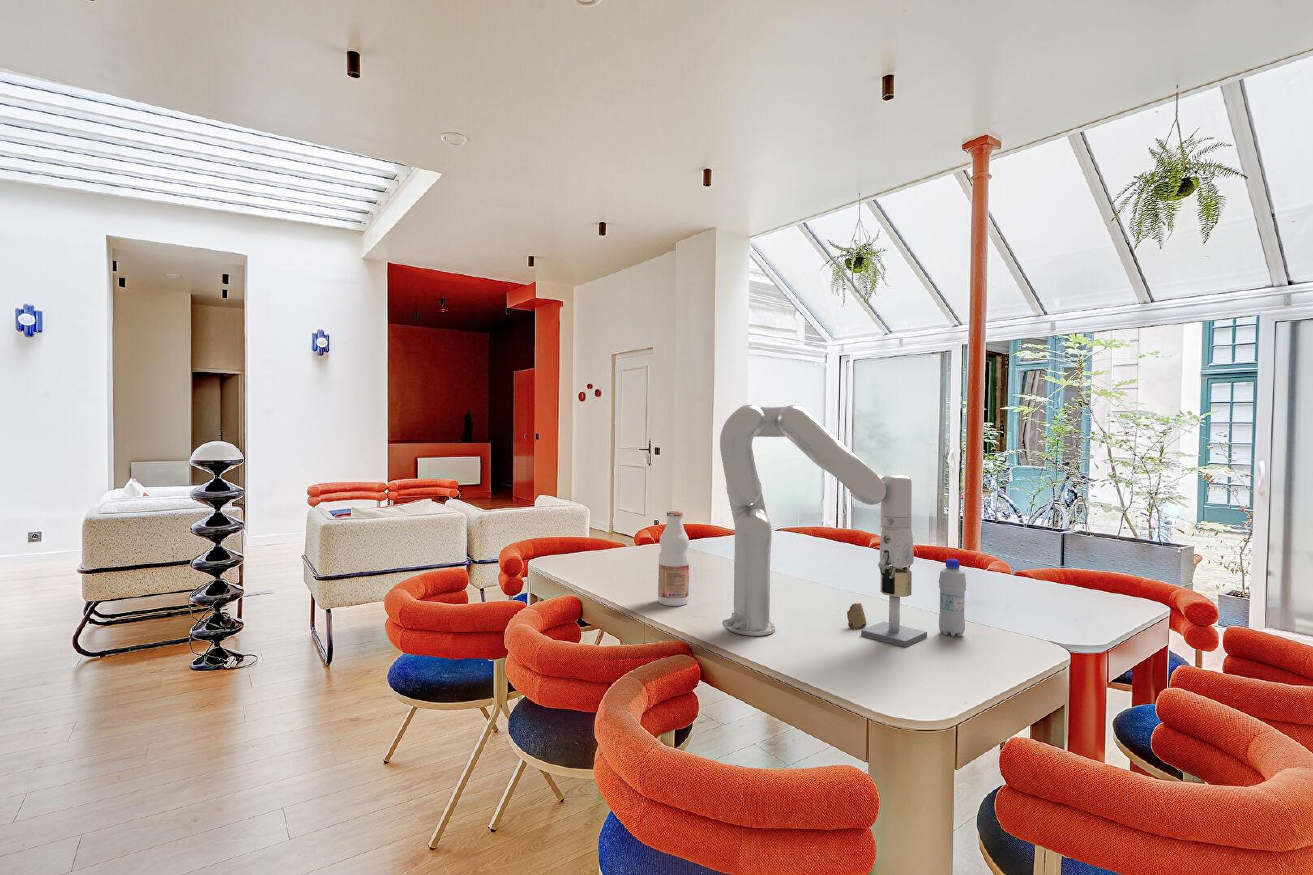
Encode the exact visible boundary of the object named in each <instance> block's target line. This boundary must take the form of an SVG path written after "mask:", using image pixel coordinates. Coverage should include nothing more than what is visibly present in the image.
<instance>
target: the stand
mask: <svg viewBox="0 0 1313 875" xmlns="http://www.w3.org/2000/svg"><path fill="white" fill-rule="evenodd" d="M888 596H889V595H888ZM888 602H889V604H888V606H889V607H888V622H887V621H882V622H879V623H876V624H874V625H871V626H869V627H864V628H863V629H861V631H860V636H862V637H865V638H869V639H872V640H877V641H880V642H884V643H888V644H892V645H895V646H899V647H902V648H908V647H909V646H912V645H914V644H916V643H918V642H920V641H922V640H926V639H927V638H928V631H925V630H921V629H918V628H917V629H916V628H913V627H909V626H904V625H900V620H901V618H900V616H901V615H900V614H901V613H900V612H901V597H894V596H889V601H888Z"/></svg>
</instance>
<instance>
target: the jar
mask: <svg viewBox="0 0 1313 875" xmlns="http://www.w3.org/2000/svg"><path fill="white" fill-rule="evenodd" d="M888 570H889V572H890V571H891V569H888ZM912 576H913V575H912V571H911V570H910V571H909V570H908V569H902V568H900V569H896V568H895V572H894V576H893V578H894V579H895V593H894V594H888V593H883V592H882V577H881V576H880V593H881V594H883V595H885V596H894V597H900V598H907V597H909V596H912V586H913V585H912V581H913V580H912V578H913V577H912Z"/></svg>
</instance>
